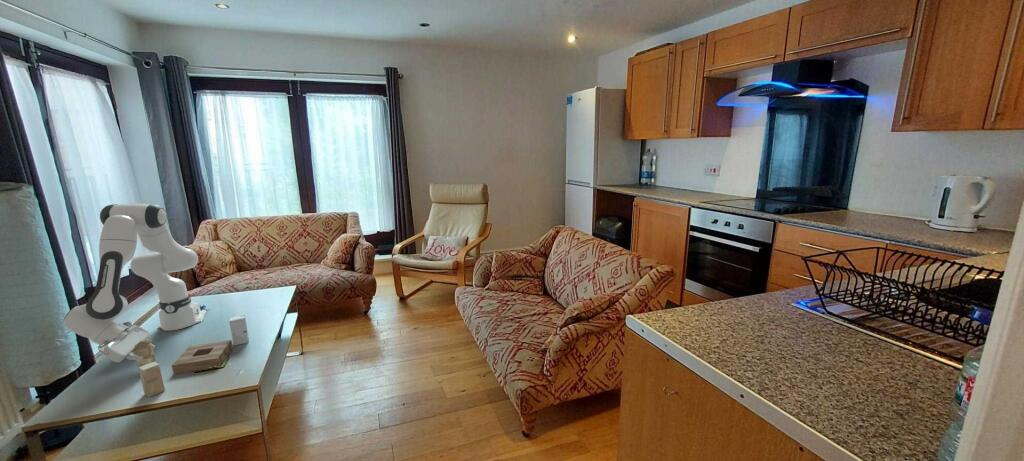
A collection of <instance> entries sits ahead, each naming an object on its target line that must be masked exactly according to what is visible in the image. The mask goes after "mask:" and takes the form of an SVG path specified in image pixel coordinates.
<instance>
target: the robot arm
mask: <svg viewBox="0 0 1024 461" xmlns="http://www.w3.org/2000/svg"><path fill="white" fill-rule="evenodd" d="M167 218H168V216H167V212H166V210H165V208H164V207H162V206H161V205H158V204H154V203H151V204H146V203H123V204H117V203H113V204H107V205H105V206H104V207H103V208H102V209H101V210H100V214H99V220H100V222H101V224H102V225H103V226H102V229H101V232H100V236H99V237H100V238H99V244H98V245H99V246H98V254H99V255H98V257H99V269H98V274H97V278H96V285H95V289H94V292H93V293H92V295H91V296H90V297H89V299H88V300H87V302H86V303H85V304H81V305H77V306H74V307H72V308H71V309H70V310H69V311H68V312H67V313H66V315H65V316H64V318H63V320H62V324H63V326H64V327H66V328H65V329H67V330H69V331H71V332H73V333H75V334H76V335H78V336H81V337H83V338H87V339H89V340H90V341H91V342H93V343H95V344H97V345H98V346H97V351H98V352H99V353H101V355H103V356H104V357H105V358H107V359H108V360H111V361H112V362H113V363H121V362H122V361H124V360H125V359H127V360H131V361H136V362H137V361H138V362H140V361H141V360H142V359H143V356H141V355H139V356H138V355H133V353H132V352H133V351H134V349H135V345H137V344H138V343H139V342H140V341H145V340H149V337H150V336H151V333H150V331H148V330H147V329H145V328H143V327H140V326H138V325H137V324H136V325H137V326H136V325H133V324H134V323H133V322H132V321H131V320H130V321H125V322H119V323H116V322H114V320H115V319H116V318H118V317H120V316H121V315H122V314H125V312H126V311H127V309H128V307H129V302H128V300H127V298H126V297H125V296H123V295H121V294H120V292H119V289H120V282H121V277H122V276H121V275H122V271H123V269H124V267H125V265H126V264H128V262H130V269H131V271H132V273H133V274H134V275H136V276H138V277H142V278H144V279H145V280H147V281H149V282H150V283H151V284H152V285H153V286H154V288H155V289H156V292H157V295H158V299H159V302H158V303H159V307H160V311H159V312H158V316H159V317H158V318H159V324H158V325H157V328H158V329H161V330H163V331H165V332H166V331H167V332H169V331H177V330H181V329H185V328H187V327H190V326H193V325H196V324H199V323H201V322H203V320H204V318H205V317H206V314H207V310H205V309H201V307H200V304H199V303H197V302H195V301H192V299H191V298H192V296H193V294H192V293H191V292H190V293H188V291H187V290H188V289H187V285H186V283H185V282H184V280H183V279H180V278H178V277H177V278H176V277H173V276H171V275H169V273H171V274H172V273H176V272H184V271H186V270H190V269H193V268H195V267H196V266H197V265H198V262H199V257H198V254H197V253H196V252H195V251H194V250H193V249H192V248H188V247H184V246H183V245H181V244H180V243H178V242H177V241H176V240H174V238H173V236H172V233H171V232H170V229H169V227H168V223H167ZM138 237H139V240H140V242H141V245H142V247H144V248H145V249H146V250H149V251H151V252H148V253H147V252H146V253H143V254H140V255H136V256H134V255H135V253H136V249H137V243H138ZM152 251H153V252H152ZM201 310H202V311H201ZM132 325H133V326H132ZM151 345H152V349H153V350H154V349H155V348H156V345H155V344H153V343H152V342H151Z"/></svg>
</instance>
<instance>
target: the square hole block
mask: <svg viewBox="0 0 1024 461" xmlns="http://www.w3.org/2000/svg"><path fill="white" fill-rule="evenodd" d="M233 346H234V345H233V339H229V340H223V341H222V340H221V341H216V342H210V343H208V342H207V343H203V344H197V345H189V346H188V347H187V348H186V350H184V351H183V353H181V355H180V356H179V357H178V358H177V359H176V360H175V361H174V362H173V363H172V364H171V368H172V373H173V375H179V374H183V373H189V372H190V373H191V372H197V371H201V370H200V369H203V370H205V369H204V368H209V367H215V366H220V365H222V364H223V363H222V362H224V361H225V360H226V359H227V357H228V356H229V354H230V353H231V352H232V350H233V349H234V347H233ZM225 358H226V359H225ZM224 359H225V360H224ZM223 360H224V361H223ZM221 363H222V364H221ZM220 367H221V366H220ZM215 368H216V367H215ZM209 369H210V368H209ZM196 370H197V371H196Z"/></svg>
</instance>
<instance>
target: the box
mask: <svg viewBox="0 0 1024 461" xmlns="http://www.w3.org/2000/svg"><path fill="white" fill-rule="evenodd" d="M137 367H138V366H137ZM137 370H138V372H139V377H140V381H141V386H142V389H143V393H144V395H145V396H146V397H148V398H151V397H153V396H155V395H158V394H160V393H162V392H165V391H166V388H165V384H164V380H163V375H162V371H161V366H160V364H159V363H158V362H157V361H156V362H152V363H149V364H146V365H144V366H141V367H138V368H137Z"/></svg>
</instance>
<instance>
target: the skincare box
mask: <svg viewBox="0 0 1024 461" xmlns="http://www.w3.org/2000/svg"><path fill="white" fill-rule="evenodd" d="M246 320H247V319H246V315H245V314H244V315H238V316H233V317H230V318H229V321H228V323H229V326H230V332H231V340H232V345H233V346H238V345H243V344H247V343H249V340H250V338H249V331H248V325H247V321H246Z"/></svg>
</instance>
